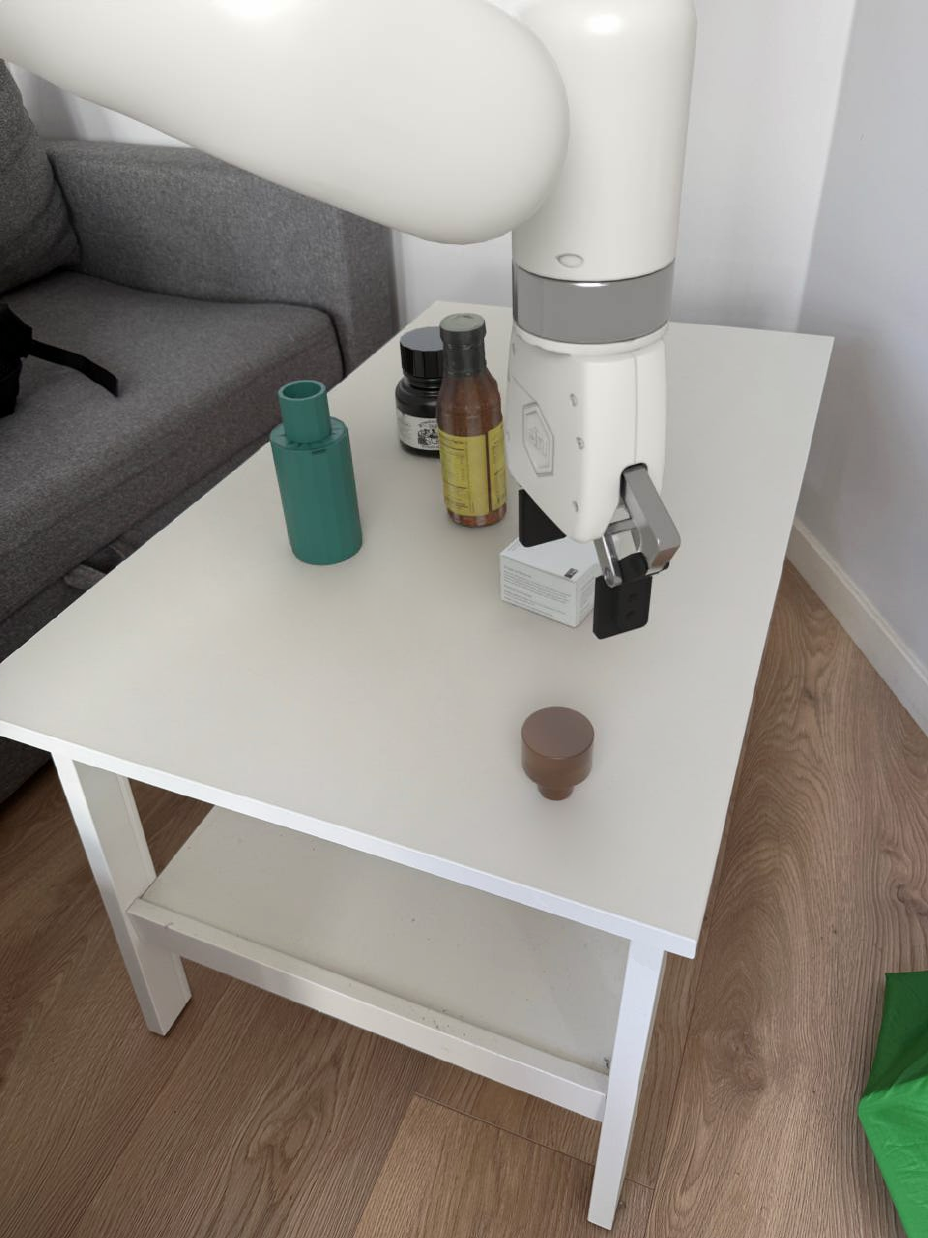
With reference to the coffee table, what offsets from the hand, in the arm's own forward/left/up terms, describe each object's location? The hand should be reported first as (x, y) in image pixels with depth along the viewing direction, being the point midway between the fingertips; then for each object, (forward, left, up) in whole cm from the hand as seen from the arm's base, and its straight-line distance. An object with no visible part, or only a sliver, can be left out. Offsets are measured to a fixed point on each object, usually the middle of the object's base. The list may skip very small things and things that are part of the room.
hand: (579, 582), depth 54 cm
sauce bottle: (+6, +34, -17) cm, 39 cm away
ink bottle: (+8, +50, -17) cm, 54 cm away
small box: (+8, +19, -17) cm, 27 cm away
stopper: (-2, -1, -17) cm, 17 cm away
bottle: (-9, +35, -17) cm, 40 cm away
